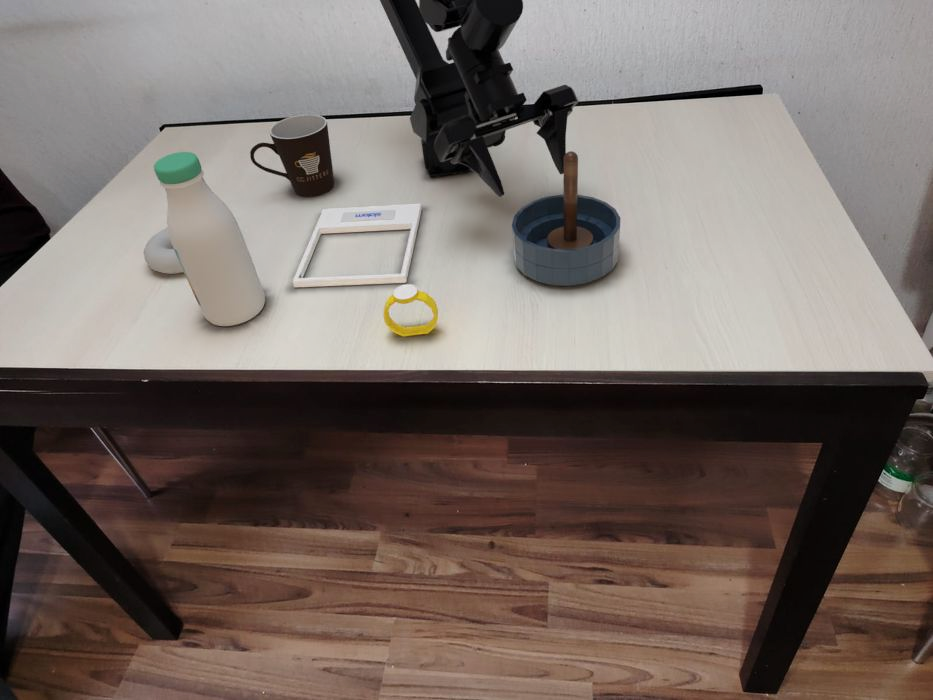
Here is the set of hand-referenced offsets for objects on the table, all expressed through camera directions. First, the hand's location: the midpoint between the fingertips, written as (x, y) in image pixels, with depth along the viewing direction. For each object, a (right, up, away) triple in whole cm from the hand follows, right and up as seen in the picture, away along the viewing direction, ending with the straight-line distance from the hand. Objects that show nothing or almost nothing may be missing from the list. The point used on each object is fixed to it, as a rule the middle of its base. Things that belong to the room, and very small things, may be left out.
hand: (533, 184), depth 85 cm
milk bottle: (-37, -16, -1) cm, 41 cm away
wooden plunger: (+5, -9, -1) cm, 11 cm away
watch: (-14, -19, -8) cm, 25 cm away
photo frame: (-23, -7, +7) cm, 25 cm away
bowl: (+4, -9, 0) cm, 10 cm away
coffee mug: (-34, +5, +22) cm, 41 cm away
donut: (-48, -8, +9) cm, 49 cm away
